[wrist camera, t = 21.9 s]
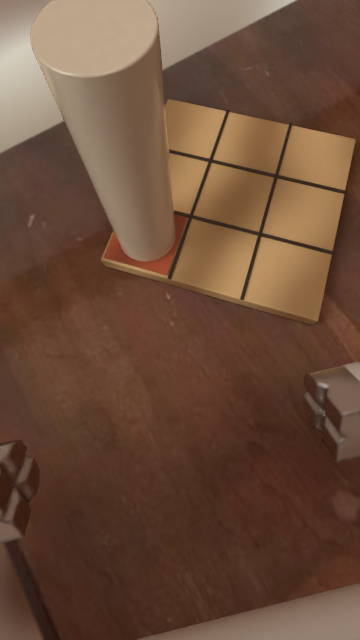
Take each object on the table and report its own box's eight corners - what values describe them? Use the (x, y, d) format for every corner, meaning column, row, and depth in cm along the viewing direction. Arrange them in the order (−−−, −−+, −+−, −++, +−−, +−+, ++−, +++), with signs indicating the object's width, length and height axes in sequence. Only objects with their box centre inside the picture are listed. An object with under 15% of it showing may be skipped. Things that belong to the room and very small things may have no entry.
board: (104, 266, 21) (99, 258, 20) (169, 110, 25) (168, 97, 24) (312, 325, 20) (319, 321, 19) (349, 149, 23) (357, 137, 22)
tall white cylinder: (110, 253, 20) (7, 61, 9) (130, 205, 21) (60, -25, 10) (165, 268, 20) (132, 87, 8) (183, 219, 21) (175, -5, 9)
